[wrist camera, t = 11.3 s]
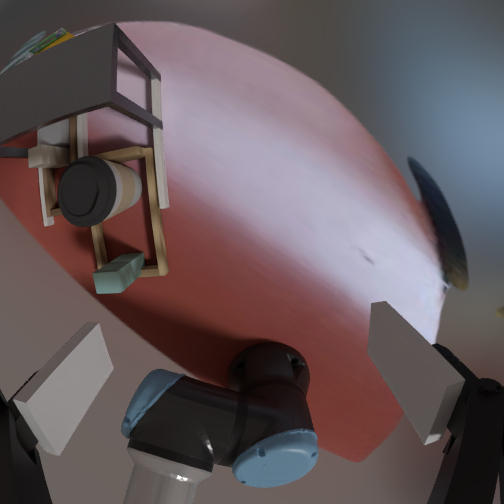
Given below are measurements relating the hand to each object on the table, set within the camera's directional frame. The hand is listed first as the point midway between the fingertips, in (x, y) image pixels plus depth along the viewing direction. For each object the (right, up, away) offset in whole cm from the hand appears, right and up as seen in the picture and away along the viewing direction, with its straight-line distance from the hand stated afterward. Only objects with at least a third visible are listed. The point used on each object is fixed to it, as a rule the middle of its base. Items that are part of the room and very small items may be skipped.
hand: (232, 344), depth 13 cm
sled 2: (-20, +10, +33) cm, 40 cm away
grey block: (-33, +25, +29) cm, 51 cm away
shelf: (-26, +27, +29) cm, 47 cm away
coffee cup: (-20, +15, +32) cm, 41 cm away
